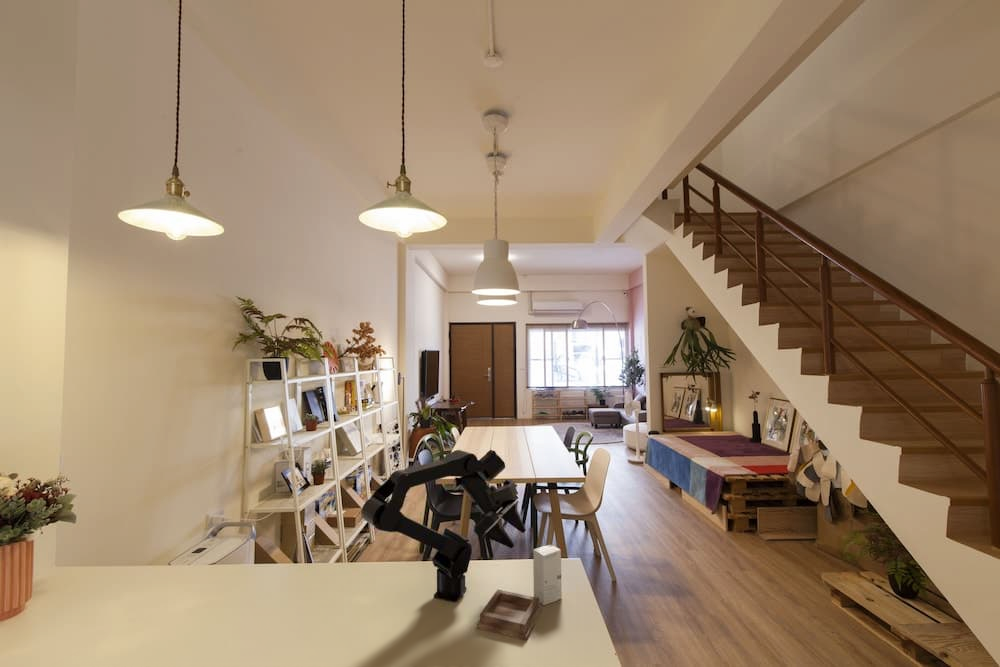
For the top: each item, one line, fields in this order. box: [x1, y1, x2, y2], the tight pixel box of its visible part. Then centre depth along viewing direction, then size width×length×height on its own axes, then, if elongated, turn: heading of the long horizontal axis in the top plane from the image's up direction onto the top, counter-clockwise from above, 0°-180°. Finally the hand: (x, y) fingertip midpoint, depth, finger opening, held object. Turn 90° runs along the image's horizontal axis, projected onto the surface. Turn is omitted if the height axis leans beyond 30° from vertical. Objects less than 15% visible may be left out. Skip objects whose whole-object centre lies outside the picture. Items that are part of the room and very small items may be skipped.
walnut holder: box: [476, 589, 543, 641], centre depth 103 cm, size 12×12×3 cm
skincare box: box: [532, 544, 563, 606], centre depth 111 cm, size 6×4×12 cm
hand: (519, 539), depth 114 cm, fingers open, 9 cm apart
